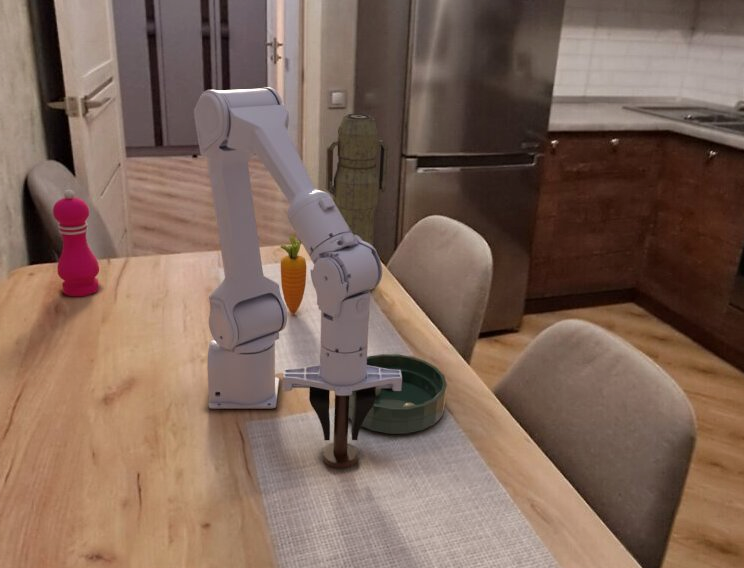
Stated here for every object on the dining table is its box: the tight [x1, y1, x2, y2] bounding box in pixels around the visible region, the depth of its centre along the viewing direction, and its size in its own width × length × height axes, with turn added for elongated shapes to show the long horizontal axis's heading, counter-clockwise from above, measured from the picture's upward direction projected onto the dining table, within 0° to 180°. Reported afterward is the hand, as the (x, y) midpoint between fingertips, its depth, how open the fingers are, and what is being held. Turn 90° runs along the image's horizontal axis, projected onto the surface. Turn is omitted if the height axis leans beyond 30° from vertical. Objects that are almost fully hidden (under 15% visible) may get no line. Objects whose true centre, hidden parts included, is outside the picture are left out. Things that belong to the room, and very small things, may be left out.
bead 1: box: [375, 388, 381, 396], centre depth 100 cm, size 2×2×2 cm
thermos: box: [325, 113, 389, 247], centre depth 133 cm, size 9×12×35 cm
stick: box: [322, 393, 358, 469], centre depth 84 cm, size 4×4×14 cm
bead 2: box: [403, 403, 415, 407], centre depth 95 cm, size 2×2×2 cm
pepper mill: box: [52, 189, 100, 297], centre depth 125 cm, size 7×7×20 cm
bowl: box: [349, 353, 448, 435], centre depth 98 cm, size 15×15×4 cm
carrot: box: [280, 235, 307, 315], centre depth 123 cm, size 5×5×15 cm
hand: (340, 435), depth 86 cm, fingers open, 3 cm apart
